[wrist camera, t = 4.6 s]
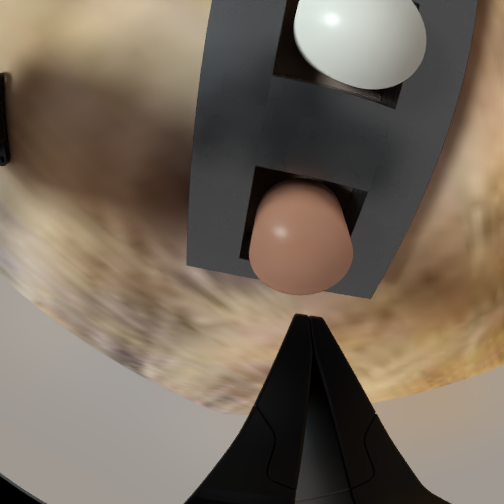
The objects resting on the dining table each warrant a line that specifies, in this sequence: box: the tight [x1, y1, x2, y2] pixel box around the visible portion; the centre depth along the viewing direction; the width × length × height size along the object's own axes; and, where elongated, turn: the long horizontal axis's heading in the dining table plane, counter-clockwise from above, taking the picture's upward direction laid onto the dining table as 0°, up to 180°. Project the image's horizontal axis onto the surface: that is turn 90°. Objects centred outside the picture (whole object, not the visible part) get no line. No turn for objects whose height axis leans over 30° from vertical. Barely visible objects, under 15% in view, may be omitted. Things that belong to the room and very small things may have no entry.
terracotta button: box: [249, 178, 353, 295], centre depth 12 cm, size 4×4×3 cm
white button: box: [293, 0, 426, 89], centre depth 7 cm, size 4×4×3 cm
